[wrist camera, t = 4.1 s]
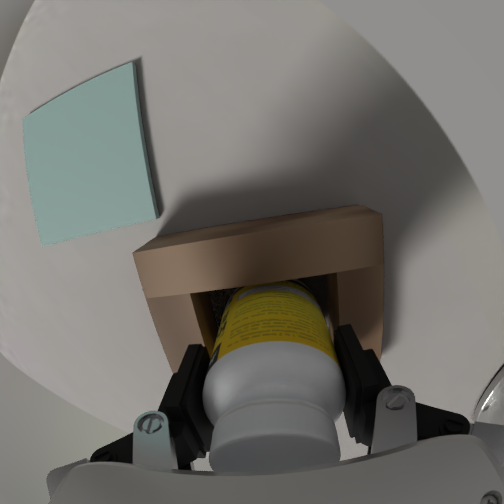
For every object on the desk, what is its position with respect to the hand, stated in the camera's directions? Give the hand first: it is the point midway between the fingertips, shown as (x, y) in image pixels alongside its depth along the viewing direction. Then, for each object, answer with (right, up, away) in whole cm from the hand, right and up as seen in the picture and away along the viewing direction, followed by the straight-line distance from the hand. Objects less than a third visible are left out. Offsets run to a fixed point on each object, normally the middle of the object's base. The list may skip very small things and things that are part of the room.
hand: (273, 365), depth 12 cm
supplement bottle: (0, +1, +5) cm, 5 cm away
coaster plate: (-11, +10, +2) cm, 15 cm away
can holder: (0, +1, +4) cm, 5 cm away
